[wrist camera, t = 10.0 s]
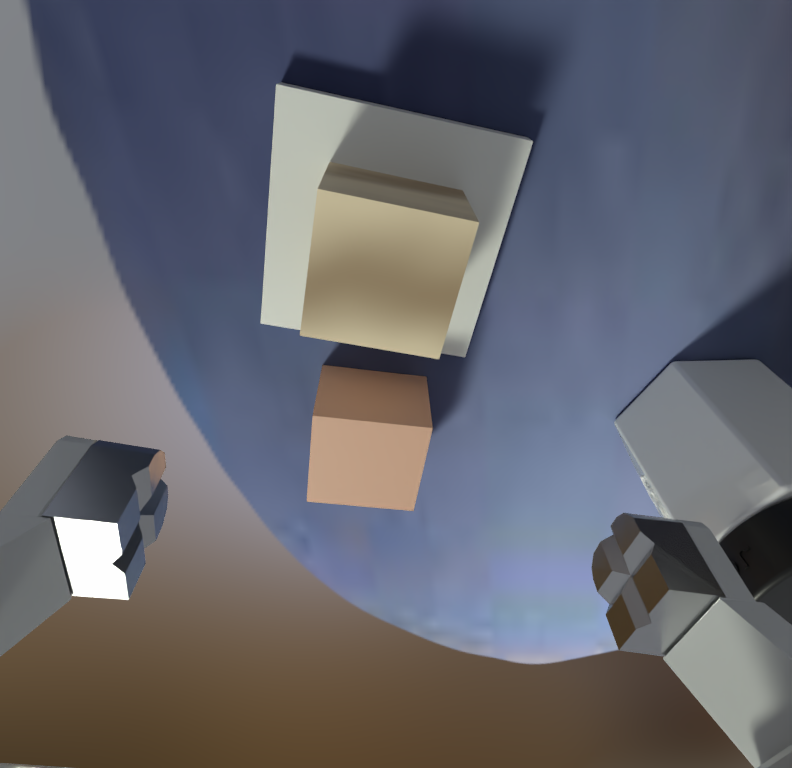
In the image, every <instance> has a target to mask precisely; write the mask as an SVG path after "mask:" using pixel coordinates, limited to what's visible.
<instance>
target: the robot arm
mask: <svg viewBox="0 0 792 768" xmlns="http://www.w3.org/2000/svg"><path fill="white" fill-rule="evenodd" d="M165 468H166V462H165V453H164V452H162V451H161V450H157V449H151V448H144V447H138V446H132V445H125V444H120V443H113V442H107V441H101V440H99V441H97V440H91V439H84V438H77V437H72V436H65V437H63V438H61V439H60V440H58V441H57V442H56V443H55V444H54V445H53V446H52V448H51V449H50V450H49V451H48V453H47V454H46V455H45V456H44V458H43V459H42V460H41V461H40V463H39V464H38V465H37V466H36V468H35V469H34V470H33V471H32V473H31V474H30V475H29V476H28V478H27V479H26V480H25V481H24V483H23V484H22V485H21V486H20V487H19V489H18V490H17V491H16V492H15V494H14V495H13V496H12V497H11V499H10V500H9V501H8V502H7V504H6V505H5V506H4V507H3V509H2V510H1V511H0V656H1V655H3V654H4V653H5V652H6V651H8V650H9V649H10V648H11V647H13V646H14V645H15V644H16V643H18V642H19V641H20V640H21V639H22V638H24V637H25V636H26V635H27V634H28V633H30V632H31V631H32V630H34V629H35V628H36V627H37V626H38V625H40V624H41V623H42V622H43V621H44V620H46V619H47V618H48V617H50V616H51V615H52V614H53V613H54V612H56V611H57V610H58V609H59V608H61V607H62V606H63V605H64V604H66V603H67V602H68V601H69V600H70V599H71V595H72V596H85V597H99V598H111V599H125V600H129V598H130V596H131V594H132V592H133V589H134V587H135V585H136V583H137V581H138V578H139V576H140V574H141V572H142V570H143V567H144V566H145V554H144V548H146V547H147V546H149V545H150V544H152V543H153V542H155V541H156V539H157V537H158V534H159V532H160V530H161V527H162V525H163V521H164V517H165V514H166V510H167V501H168V487H167V485H166V484H165V483H164V482H163V481H162V480H161V479H160V478H161V476H162V474H163V472H164V470H165ZM611 529H612V532H613V535H612V536H610V537H608V538H606V539H604V540H603V541H601V542H600V543H599V545H598V547H597V549H596V550H595V552H594V554H593V562H592V574H593V580H594V583H595V586H596V589H597V592H598V593H599V594H600V595H601V596H602V597H603V598H604V599H605V600H606V601H607V602H608V603H609V607H608V610H607V613H606V617H607V619H608V622H609V625H610V627H611V630H612V633H613V636H614V638H615V641H616V644H617V646H618V649H619V650H621V651H628V652H636V653H644V654H651V655H659V656H665V657H664V658H663V659H664V660H665V662H667V664H668V665H669V666H670V668H671V669H672V670H673V671H674V672H675V673H676V675H677V676H678V677H679V678H680V679H681V681H682V682H683V683H684V684H685V685H686V687H687V688H688V689H689V690H690V691H691V692H692V694H693V695H694V696H695V697H696V699H698V701H699V702H700V703H701V704H702V706H703V707H704V708H705V709H706V710H707V712H708V713H709V714H710V715H711V716H712V718H713V719H714V720H715V721H716V722H717V724H718V725H719V726H720V727H721V728H722V729H723V731H724V732H725V733H726V734H727V735H728V737H729V738H730V739H731V740H732V741H733V743H734V744H735V745H736V746H737V747H738V749H739V750H740V751H741V752H742V753H743V754H744V756H745V757H746V758H747V759H748V761H749V762H750V763H751V764H752V765H753V766H754V768H792V625H791V624H790V623H789V622H787V621H786V620H785V619H784V618H782V617H781V616H780V615H779V614H777V613H776V612H775V611H774V610H772V609H771V608H770V607H769V606H767V605H766V604H765V603H761V602H756V601H755V599H754V598H753V596H752V595H751V593H750V591H749V590H748V588H747V587H746V585H745V584H744V582H743V580H742V579H741V577H740V576H739V574H738V573H737V571H736V569H735V568H734V566H733V565H732V563H731V562H730V560H729V558H728V557H727V555H726V554H725V552H724V551H723V549H722V547H721V546H720V544H719V543H718V541H717V540H716V538H715V536H714V535H713V533H712V532H711V530H710V529H709V528H708V527H707V526H705V525H704V524H703V523H701V522H693V521H685V520H677V519H675V520H673V519H669V518H661V517H653V516H645V515H637V514H629V513H623V514H621V515H619V516H618V517H616V519H615V520H614V522H613V523H612V525H611ZM0 768H67V767H52V766H36V765H21V764H6V763H0Z"/></svg>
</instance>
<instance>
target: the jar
mask: <svg viewBox="0 0 792 768" xmlns="http://www.w3.org/2000/svg"><path fill="white" fill-rule="evenodd" d="M615 426H616V428H617V430H618V433H619V435H620V437H621V439H622V441H623V443H624V445H625V448H626V450H627V452H628V454H629V456H630V458H631V460H632V463H633V465H634V467H635V469H636V471H637V473H638V475H639V476H640V478H641V480H642V482H643V484H644V486H645V488H646V490H647V492H648V494H649V496H650V497H651V499H652V501H653V502H654V504H655V506H656V508H657V510H658V512H659V514H660V516H661V518H669V519H673V520H675V519H677V520H685V521H693V522H701V523H703V524H704V525H705V526H707V527H708V528H709V529H710V530H711V532H712V533H713V535H714V536H715V538H716V540H717V541H718V543H719V544H720V546H721V547H722V549H723V551H724V552H725V554H726V555H727V557H728V558H729V560H730V562H731V563H732V565H733V566H734V568H735V569H736V571H737V573H738V574H739V576H740V577H741V579H742V580H743V582H744V584H745V585H746V587H747V588H748V590H749V591H750V593H751V595H752V596H753V598H754V599H755V601H756V602H761V603H765V604H766V605H767V606H769V607H770V608H771V609H772V610H774V611H775V612H776V613H777V614H779V615H780V616H781V617H782V618H784V619H785V620H786V621H787V622H789V623H790V624H791V625H792V388H791V387H790V386H789V385H788V384H786V383H785V382H784V381H783V380H782V379H781V378H779V377H778V376H777V375H776V374H775V373H774V372H772V371H771V370H770V369H769V368H768V367H767V366H765V365H764V364H763V363H762V362H761V361H759V360H756V359H748V360H710V361H674V362H672V363H670V364H669V365H668V366H667V367H666V368H665V369H664V371H663V372H662V373H661V374H660V375H659V376H658V377H657V378H656V379H655V380H654V381H653V382H652V383H651V384H650V385H649V386H648V387H647V388H646V389H645V390H644V391H643V392H642V393H641V394H640V395H639V396H638V397H637V398H636V399H635V400H634V401H633V402H632V403H631V404H630V405H629V406H628V407H627V408H626V409H625V411H624V412H623V413H622V414H621V415H620V416H619V417H618V418H617V419H616V420H615Z"/></svg>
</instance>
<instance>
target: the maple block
mask: <svg viewBox="0 0 792 768" xmlns="http://www.w3.org/2000/svg"><path fill="white" fill-rule="evenodd" d="M478 225H479V221H478V219H477V217H476V215H475V213H474V211H473V209H472V207H471V205H470V203H469V201H468V199H467V198H466V196H465V194H464V192H463V190H459V189H454V188H449V187H445V186H440V185H435V184H431V183H426V182H422V181H417V180H412V179H408V178H403V177H398V176H394V175H389V174H384V173H380V172H375V171H370V170H366V169H361V168H357V167H352V166H347V165H343V164H338V163H333V162H329V164H328V166H327V169H326V171H325V173H324V175H323V178H322V180H321V182H320V184H319V186H318V189H317V197H316V205H315V214H314V222H313V230H312V238H311V247H310V255H309V263H308V272H307V280H306V288H305V297H304V305H303V313H302V322H301V330H300V336H306V337H312V338H318V339H323V340H329V341H335V342H341V343H347V344H353V345H358V346H364V347H370V348H376V349H382V350H388V351H393V352H399V353H405V354H411V355H417V356H423V357H428V358H434V359H439V358H440V355H441V351H442V348H443V345H444V341H445V338H446V334H447V331H448V328H449V324H450V321H451V317H452V314H453V310H454V307H455V304H456V300H457V297H458V293H459V290H460V287H461V283H462V280H463V276H464V273H465V270H466V266H467V263H468V259H469V256H470V253H471V249H472V246H473V242H474V239H475V236H476V232H477V229H478Z"/></svg>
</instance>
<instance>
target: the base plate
mask: <svg viewBox="0 0 792 768" xmlns="http://www.w3.org/2000/svg"><path fill="white" fill-rule="evenodd" d="M532 144H533V141H532V140H531V139H529V138H528V137H524V136H519V135H515V134H510V133H506V132H501V131H497V130H492V129H488V128H483V127H479V126H474V125H470V124H465V123H461V122H457V121H452V120H448V119H443V118H439V117H434V116H430V115H425V114H421V113H416V112H412V111H407V110H403V109H398V108H394V107H389V106H385V105H380V104H376V103H372V102H367V101H363V100H358V99H354V98H349V97H345V96H340V95H336V94H331V93H327V92H322V91H318V90H313V89H309V88H304V87H300V86H296V85H291V84H287V83H282V82H280V83H278V84H276V95H275V111H274V126H273V142H272V157H271V173H270V188H269V204H268V219H267V235H266V250H265V266H264V281H263V297H262V312H261V324H268V325H274V326H280V327H286V328H292V329H298V330H301V322H302V313H303V305H304V297H305V288H306V280H307V272H308V263H309V255H310V247H311V238H312V230H313V222H314V214H315V205H316V197H317V189H318V186H319V184H320V182H321V180H322V178H323V175H324V173H325V171H326V169H327V166H328V164H329V162H333V163H338V164H343V165H347V166H352V167H357V168H361V169H366V170H370V171H375V172H380V173H384V174H389V175H394V176H398V177H403V178H408V179H412V180H417V181H422V182H426V183H431V184H435V185H440V186H445V187H449V188H454V189H459V190H463V192H464V194H465V196H466V198H467V199H468V201H469V203H470V205H471V207H472V209H473V211H474V213H475V215H476V217H477V219H478V221H479V225H478V229H477V232H476V236H475V239H474V242H473V246H472V249H471V253H470V256H469V259H468V263H467V266H466V270H465V273H464V276H463V280H462V283H461V287H460V290H459V293H458V297H457V300H456V304H455V307H454V310H453V314H452V317H451V321H450V324H449V328H448V331H447V334H446V338H445V341H444V345H443V348H442V351H441V353H442V354H448V355H454V356H460V357H465V356H466V353H467V350H468V347H469V343H470V340H471V337H472V334H473V331H474V328H475V324H476V321H477V318H478V315H479V312H480V309H481V305H482V302H483V299H484V296H485V293H486V290H487V286H488V283H489V280H490V277H491V274H492V271H493V267H494V264H495V261H496V258H497V255H498V252H499V248H500V245H501V242H502V239H503V236H504V233H505V229H506V226H507V223H508V220H509V217H510V214H511V210H512V207H513V204H514V201H515V198H516V195H517V191H518V188H519V185H520V182H521V179H522V176H523V172H524V169H525V166H526V163H527V160H528V157H529V153H530V150H531V147H532Z"/></svg>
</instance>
